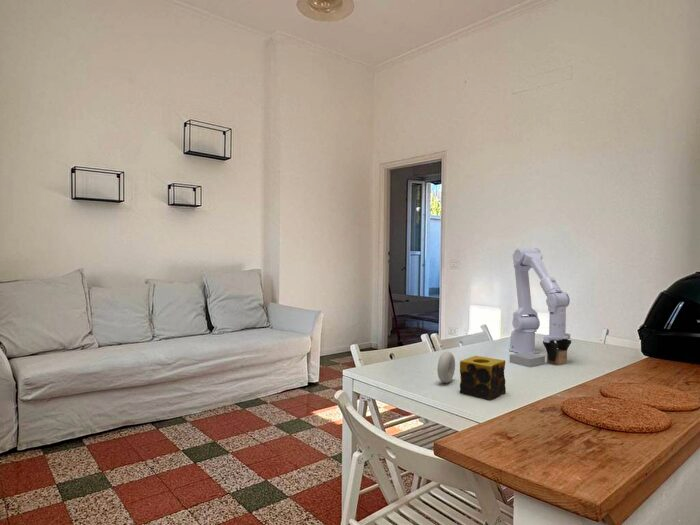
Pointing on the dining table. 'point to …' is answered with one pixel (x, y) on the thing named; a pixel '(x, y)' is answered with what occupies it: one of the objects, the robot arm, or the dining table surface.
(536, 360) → the base
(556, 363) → the block
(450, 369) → the donut
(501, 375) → the candle
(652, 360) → the dining table surface
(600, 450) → the dining table surface
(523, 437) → the dining table surface
